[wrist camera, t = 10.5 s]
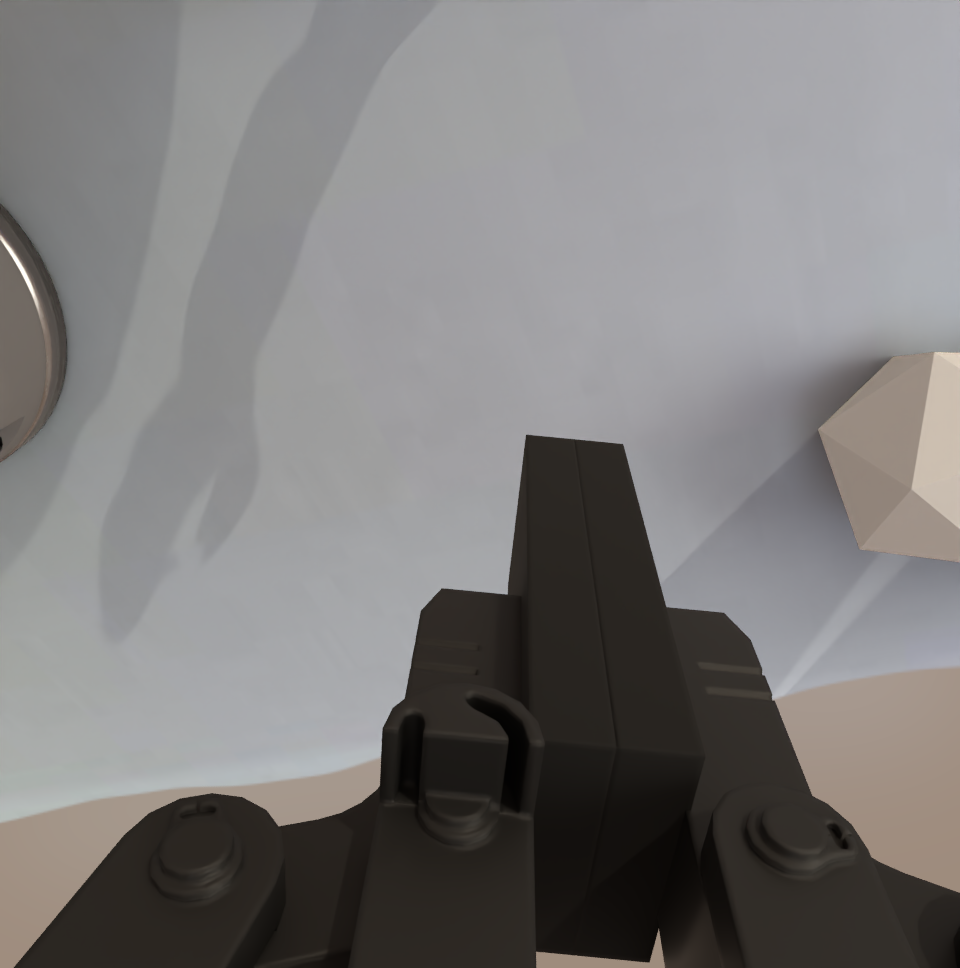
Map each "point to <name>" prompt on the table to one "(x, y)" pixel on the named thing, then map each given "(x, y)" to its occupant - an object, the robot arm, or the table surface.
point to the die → (902, 457)
